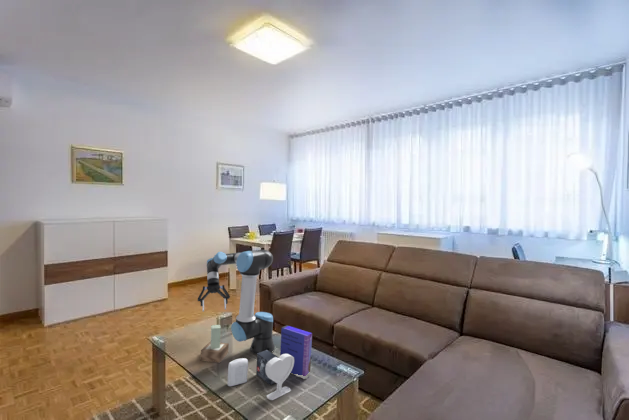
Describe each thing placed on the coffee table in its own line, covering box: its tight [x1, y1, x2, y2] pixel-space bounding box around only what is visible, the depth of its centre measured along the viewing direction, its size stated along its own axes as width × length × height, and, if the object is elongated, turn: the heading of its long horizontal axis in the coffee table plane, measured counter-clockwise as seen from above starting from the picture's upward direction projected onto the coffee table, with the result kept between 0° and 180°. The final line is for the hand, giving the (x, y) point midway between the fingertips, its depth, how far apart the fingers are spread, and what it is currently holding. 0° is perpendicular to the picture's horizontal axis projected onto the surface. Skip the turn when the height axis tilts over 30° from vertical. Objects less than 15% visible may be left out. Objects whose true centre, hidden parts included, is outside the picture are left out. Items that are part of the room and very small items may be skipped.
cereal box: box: [279, 325, 313, 376], centre depth 176 cm, size 17×5×24 cm, turn 58°
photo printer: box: [227, 357, 249, 387], centre depth 164 cm, size 10×4×12 cm, turn 123°
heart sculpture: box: [265, 354, 294, 401], centre depth 157 cm, size 16×5×18 cm, turn 135°
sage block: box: [210, 324, 222, 349], centre depth 189 cm, size 5×5×12 cm
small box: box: [255, 350, 280, 386], centre depth 170 cm, size 13×7×12 cm, turn 45°
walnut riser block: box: [200, 340, 230, 364], centre depth 190 cm, size 12×12×6 cm
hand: (214, 309), depth 203 cm, fingers open, 13 cm apart
